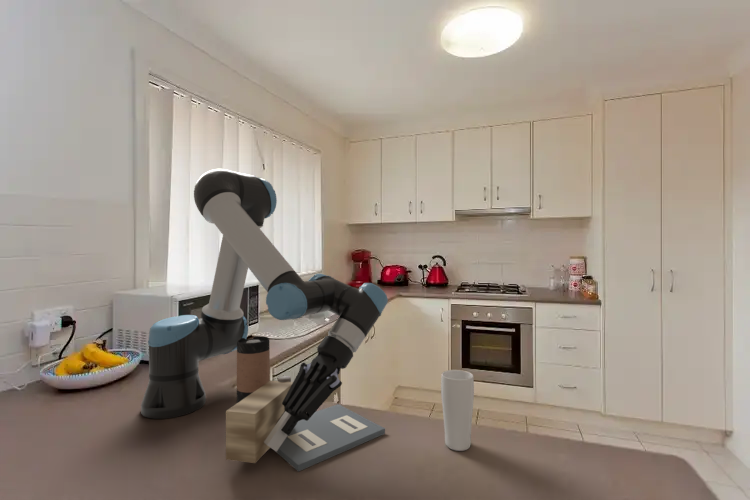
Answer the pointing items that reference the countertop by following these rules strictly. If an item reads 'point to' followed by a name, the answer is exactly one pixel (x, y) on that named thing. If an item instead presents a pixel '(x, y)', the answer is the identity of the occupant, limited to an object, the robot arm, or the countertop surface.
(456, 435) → the drinking glass
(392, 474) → the countertop surface
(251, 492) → the countertop surface
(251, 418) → the tan wooden block
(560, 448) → the countertop surface
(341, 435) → the label board
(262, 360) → the travel mug
